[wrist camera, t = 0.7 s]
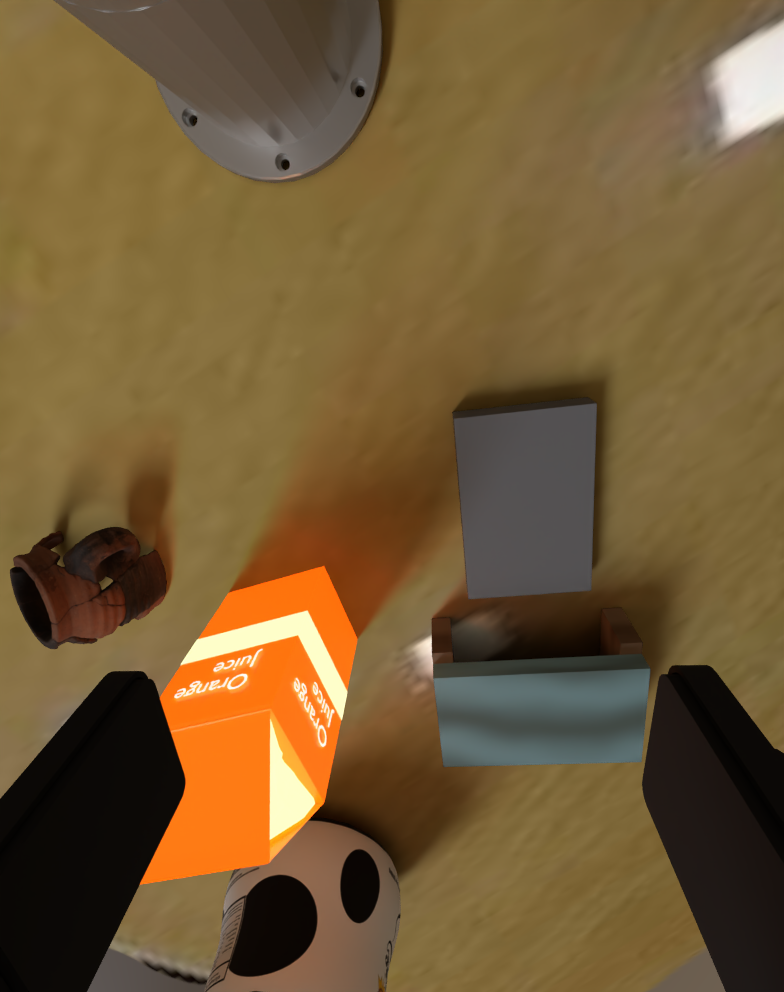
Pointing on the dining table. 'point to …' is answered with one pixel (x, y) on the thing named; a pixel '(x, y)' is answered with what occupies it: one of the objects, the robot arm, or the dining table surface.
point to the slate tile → (527, 497)
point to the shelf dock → (543, 703)
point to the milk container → (311, 916)
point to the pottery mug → (86, 586)
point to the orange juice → (255, 724)
